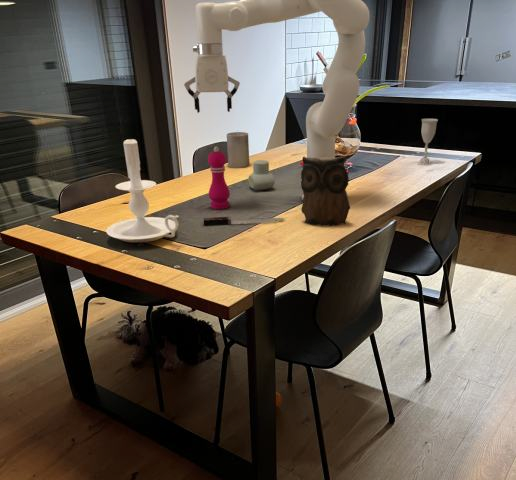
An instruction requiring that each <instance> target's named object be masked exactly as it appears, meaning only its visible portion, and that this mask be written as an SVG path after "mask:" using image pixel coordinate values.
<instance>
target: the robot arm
mask: <svg viewBox="0 0 516 480" xmlns="http://www.w3.org/2000/svg"><path fill="white" fill-rule="evenodd" d="M194 11H195V26H196V27H195V28H196V40H197V41H196V43H197V45H195V46H192V52H193V53H194V52H195V53H197V55H196V56H195V61H194V77H192V78H190V79H189V80H187V81H186V82H184V84H183V86H184V87H185V89H186V91H187V93H188V94H189V95H190V96H191V97H192V98H193V101H194V110H195V111H196V112H197V114H198V113H200V112H201V108H200V98H199V96H200V94H201V93H225V94H226V95H227V97H226V109H227V110H226V111H227V112H228V113H230V112H231V109H233V106H232V105H233V104H232V103H233V102H232V99H233V97H234V95H235V94H236V93H237V91H238V89H239V87H240V85H241V83H240V81H238V80H237V79H235V78H233V77H231V76H229V72H228V71H229V69H228V62H227V57H226V55H224V53H223V49H224V48H223V30H227V31H229V32H238V31H241V30H243V29H247V28H250V27H254V26H255V27H256V26H259V25H264V24H272V23H273V24H275V23H280V22H285V21H289V20H292V19H296V18H301V17H304V16H308V15H312V14H313V15H314V14H316V13H320V12H322V13H323V14H324V15H326V16H327V17H328V18H330V19H331V20H332V24H333V27H334V29H335V31H336V33H337V38H338V44H337V48H336V51H335V54H334V57H333V59H332V61H331V63H330V66H329V68H328V70H327V72H326V74H325V76H324V78H323V81H322V86H321V87H322V92H323V94H324V97H323V101H319V102H316V103H314V104H312V105H311V106H310V107H309V108H308V110H307V112H306V116H305V132H306V158H318V157H325V158H326V157H335V156H336V155H335V154H336V136H337V135H338V134H339V133H340V132H341V131H342V129H343V128H344V126H345V124H346V123H347V120H348V119H349V116H350V114H351V111H352V110H353V108H354V105H355V103H356V100H357V98H358V95H359V92H360V79H359V77H358V75H357V73H358V70H359V67H360V65H361V62H362V60H363V58H364V54H365V51H366V34H365V30H366V28H367V27H368V25H369V23H370V20H371V19H370V18H371V15H370V10H369V8H368V5H367V4H366V3H365V2H364V1H363V0H232V1H226V2H219V3H217V2H211V1H210V2H199V3H197V4H196V5H195V9H194ZM194 83H195V89H196V90H195V91H193V89H192V88H191V85H192V84H194ZM229 83H231V84H233V87H232V89H231V90H229ZM335 158H336V157H335ZM303 197H304V193H303V194H302V195H301V200H302V201H303Z"/></svg>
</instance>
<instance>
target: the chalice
mask: <svg viewBox="0 0 516 480" xmlns="http://www.w3.org/2000/svg"><path fill="white" fill-rule="evenodd" d="M438 121H439V119H437V118H421V131H420V132H421V138H422V140H423V143H424V144H425V145H424V151H423V153H424V155H423V157H421V158H420V160H419V162H418V164H419V166H429V165H431V162H430V158H429V157H428V156H427V155H428V153H429V152H428V149H429V144H430V143H431V142H432V140H433V138H434V137H435V135H436V130H437V123H438Z"/></svg>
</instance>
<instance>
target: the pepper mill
mask: <svg viewBox="0 0 516 480" xmlns="http://www.w3.org/2000/svg"><path fill="white" fill-rule="evenodd" d="M207 162H208V164H209V166H210V167H209V171H210V172H211V183H210V187H209V190H208V198H209V199H210V200H211V202H210V208H211V209H212V210H225V209H228V208H229V207H230V201H229V200H228V199H229V198H230V195H231V192H230V189H229V187H228V185H227V182H226V179H225V171H226V166H225V165H226V163H227V157H226V155H225V153H224V152H222V151H220V148H219V146H214V147H213V151H212V152H210V153H209V154H208V157H207Z"/></svg>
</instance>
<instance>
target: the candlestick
mask: <svg viewBox="0 0 516 480" xmlns="http://www.w3.org/2000/svg"><path fill="white" fill-rule="evenodd" d="M122 145H123V151H124V157H125V163H126V164H125V165H126V170H127V178H128V179H129V180H128V181H123V182H120V183H118V184H116V185H115V189H116V190H117V189H118V190H119V191H120V190H121V191H125V192H129V193H130V199H129V201H128V208H129V210H130V212H131V213H132V215H134V216H135V218H129V219H125V220H120V221H117V222H115V223H113V224H111V225H110V226H109V227H107V229H106V234H107V235H108V236H109V237H112V238H114V239H117V240H120V241H122V242H126V243H133V244H134V243H137V244H141V243H149V242H154V241H157V240H160V239H162V238H164V237H165V238H175V236H176V231H177V230H178V229H179V224H180V223H179V221H178V218H179V217H180V216H179V215H177V214H176V215H173V214H169V215H166V216H165V217H157V216H146V215H147V213H148V211H149V209H150V204H149V201H148V199H147V198H146V197H145V194H144V191H145V190H148V189H150V188H153V187H156V185H157V182H156V181H153V180H148V179H142V178H141V160H140V153H139V145H138V141H137V139H134V138H132V139H131V138H129V139H126V140H124V141H123V144H122ZM170 233H171V234H170Z"/></svg>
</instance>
